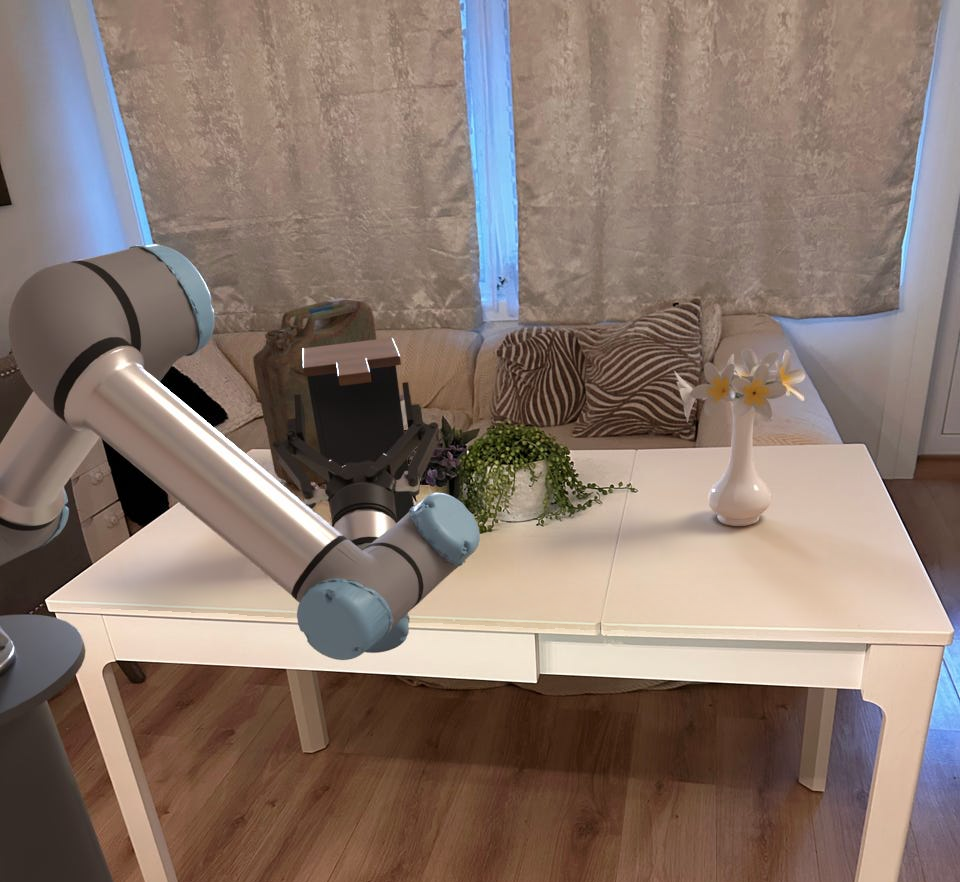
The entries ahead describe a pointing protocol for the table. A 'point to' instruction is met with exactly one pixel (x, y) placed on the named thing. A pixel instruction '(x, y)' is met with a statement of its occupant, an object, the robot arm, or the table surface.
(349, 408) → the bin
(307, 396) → the container
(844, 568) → the table surface
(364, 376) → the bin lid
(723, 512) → the flower vase
